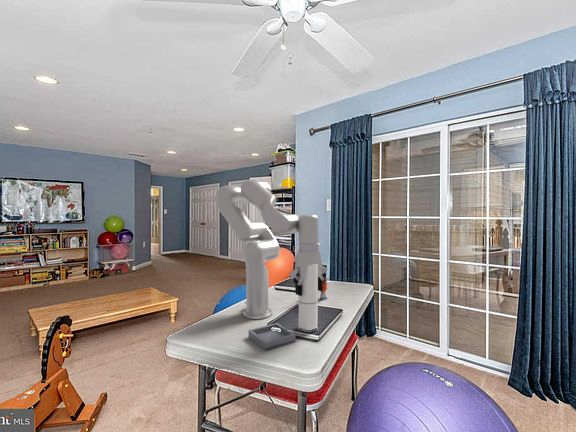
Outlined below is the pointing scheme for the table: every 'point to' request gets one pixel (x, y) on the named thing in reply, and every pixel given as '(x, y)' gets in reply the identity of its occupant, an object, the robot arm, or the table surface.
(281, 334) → the tray
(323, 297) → the doll family
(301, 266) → the robot arm
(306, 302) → the cylindrical container
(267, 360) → the table surface
